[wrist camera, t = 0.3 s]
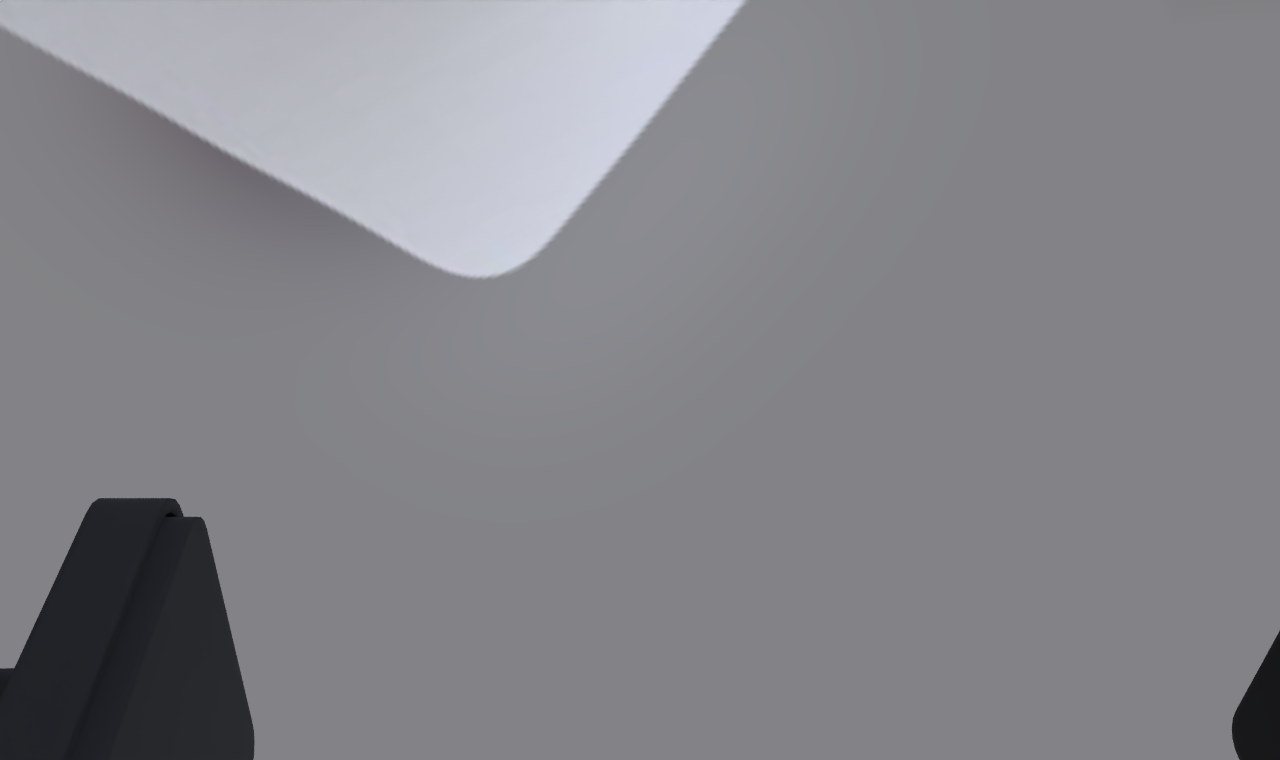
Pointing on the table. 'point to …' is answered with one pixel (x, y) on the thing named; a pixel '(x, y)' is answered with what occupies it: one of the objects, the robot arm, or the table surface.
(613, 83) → the table surface
